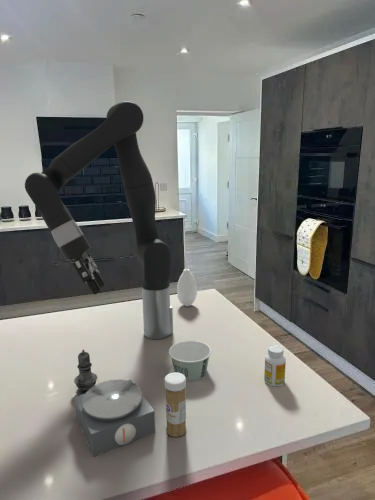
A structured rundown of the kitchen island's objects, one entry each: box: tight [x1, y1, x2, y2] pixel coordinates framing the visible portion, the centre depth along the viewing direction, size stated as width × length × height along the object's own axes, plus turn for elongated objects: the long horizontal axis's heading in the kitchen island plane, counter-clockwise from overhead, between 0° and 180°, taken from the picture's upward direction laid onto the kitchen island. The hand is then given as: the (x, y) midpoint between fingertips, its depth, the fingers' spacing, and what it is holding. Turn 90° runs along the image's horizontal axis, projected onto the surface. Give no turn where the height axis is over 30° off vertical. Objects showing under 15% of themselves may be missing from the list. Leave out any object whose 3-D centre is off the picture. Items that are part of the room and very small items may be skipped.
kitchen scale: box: [73, 379, 156, 457], centre depth 86 cm, size 14×15×5 cm
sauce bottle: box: [176, 263, 198, 307], centre depth 152 cm, size 8×8×18 cm
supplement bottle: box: [263, 344, 286, 387], centre depth 101 cm, size 5×5×10 cm
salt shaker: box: [73, 349, 98, 396], centre depth 98 cm, size 6×6×12 cm
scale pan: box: [83, 379, 143, 421], centre depth 85 cm, size 13×13×3 cm
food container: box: [168, 340, 212, 381], centre depth 107 cm, size 12×12×6 cm
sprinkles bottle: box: [164, 372, 187, 438], centre depth 83 cm, size 5×5×13 cm
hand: (100, 289), depth 108 cm, fingers open, 8 cm apart
